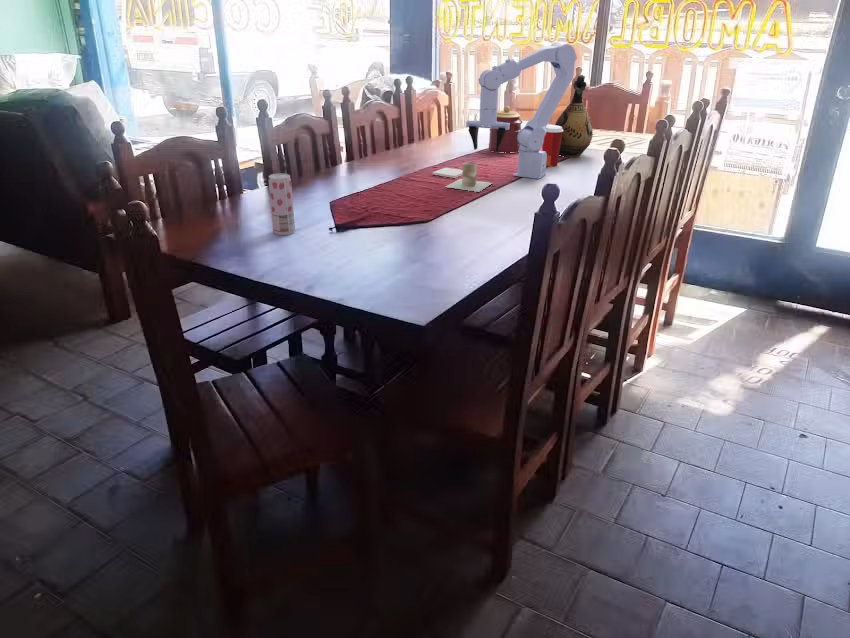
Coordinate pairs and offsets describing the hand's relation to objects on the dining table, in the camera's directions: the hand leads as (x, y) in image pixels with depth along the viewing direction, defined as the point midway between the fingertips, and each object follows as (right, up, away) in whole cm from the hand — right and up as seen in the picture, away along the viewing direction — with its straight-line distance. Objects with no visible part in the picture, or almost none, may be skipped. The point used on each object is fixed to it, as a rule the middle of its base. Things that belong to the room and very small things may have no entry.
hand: (486, 149), depth 226 cm
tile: (-8, -8, +5) cm, 12 cm away
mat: (-6, -14, -7) cm, 17 cm away
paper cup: (+26, 0, +22) cm, 34 cm away
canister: (+11, +11, +44) cm, 47 cm away
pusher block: (-6, -13, -7) cm, 17 cm away
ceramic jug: (+37, +7, +38) cm, 53 cm away
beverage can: (-58, -35, -51) cm, 85 cm away
